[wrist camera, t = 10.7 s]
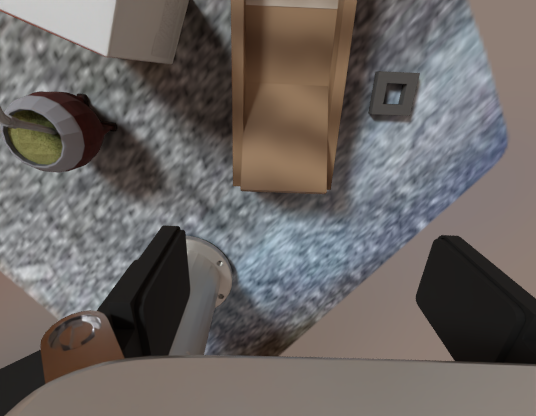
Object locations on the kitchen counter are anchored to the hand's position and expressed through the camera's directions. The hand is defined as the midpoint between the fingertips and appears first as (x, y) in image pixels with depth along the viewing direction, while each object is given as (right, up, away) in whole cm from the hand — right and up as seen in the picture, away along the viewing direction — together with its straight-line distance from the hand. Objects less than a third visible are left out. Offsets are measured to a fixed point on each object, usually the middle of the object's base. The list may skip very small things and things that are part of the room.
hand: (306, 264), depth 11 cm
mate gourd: (-21, +12, +20) cm, 31 cm away
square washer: (+11, +14, +19) cm, 26 cm away
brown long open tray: (+1, +19, +17) cm, 25 cm away
